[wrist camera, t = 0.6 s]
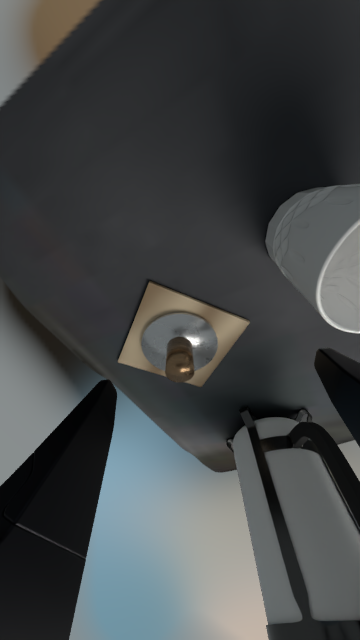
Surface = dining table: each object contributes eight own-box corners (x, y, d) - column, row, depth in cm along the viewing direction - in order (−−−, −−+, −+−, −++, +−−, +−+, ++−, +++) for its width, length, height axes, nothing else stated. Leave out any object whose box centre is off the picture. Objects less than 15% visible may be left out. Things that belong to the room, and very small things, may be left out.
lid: (231, 327, 24) (241, 355, 21) (196, 377, 29) (199, 407, 25) (157, 299, 22) (153, 325, 19) (132, 357, 27) (124, 387, 23)
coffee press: (328, 429, 37) (641, 955, 12) (244, 456, 42) (340, 864, 17) (294, 372, 29) (995, 1544, 4) (196, 413, 34) (244, 1054, 9)
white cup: (260, 281, 22) (310, 344, 13) (256, 194, 18) (325, 208, 9) (342, 263, 21) (452, 319, 12) (359, 166, 17) (542, 153, 8)
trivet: (249, 320, 24) (249, 322, 24) (201, 384, 30) (201, 387, 30) (149, 280, 22) (149, 282, 21) (118, 359, 28) (117, 362, 27)
